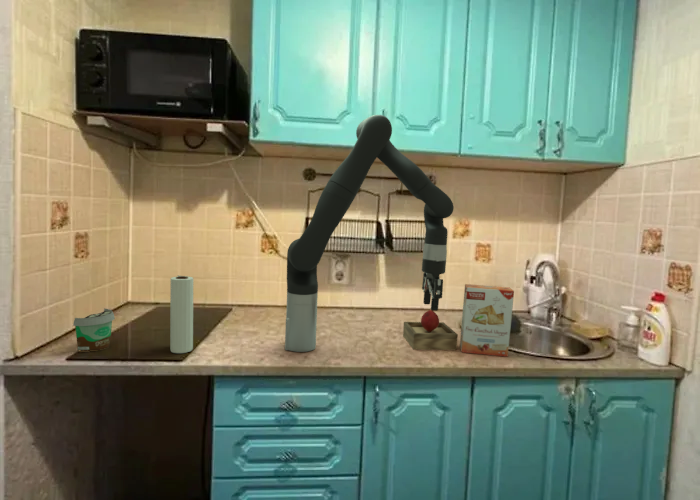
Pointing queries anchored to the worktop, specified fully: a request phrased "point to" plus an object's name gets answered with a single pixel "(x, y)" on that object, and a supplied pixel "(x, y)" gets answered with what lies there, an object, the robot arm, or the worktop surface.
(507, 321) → the cracker box
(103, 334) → the food container
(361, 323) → the worktop surface
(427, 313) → the onion
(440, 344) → the tray
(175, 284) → the paper towel roll
